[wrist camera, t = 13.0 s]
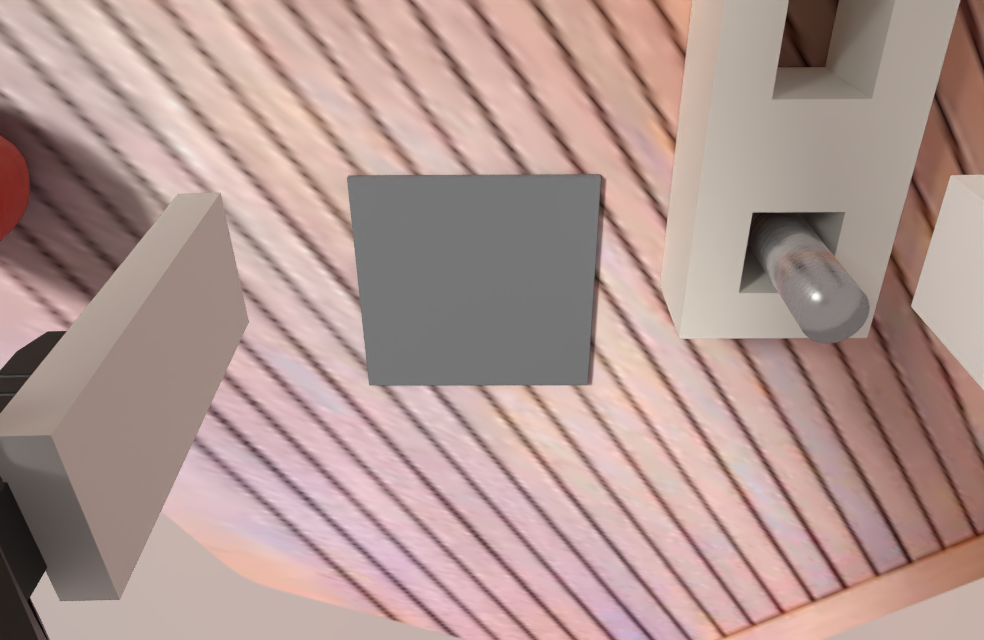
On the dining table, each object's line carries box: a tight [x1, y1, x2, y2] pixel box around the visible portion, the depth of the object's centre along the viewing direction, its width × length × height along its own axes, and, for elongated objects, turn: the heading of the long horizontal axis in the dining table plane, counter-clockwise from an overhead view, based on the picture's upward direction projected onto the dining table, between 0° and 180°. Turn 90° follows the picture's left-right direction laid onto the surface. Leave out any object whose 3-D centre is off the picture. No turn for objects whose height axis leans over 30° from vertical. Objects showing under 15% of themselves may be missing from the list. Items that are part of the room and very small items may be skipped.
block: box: [660, 0, 960, 339], centre depth 40 cm, size 20×10×6 cm, turn 0°
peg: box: [747, 212, 870, 343], centre depth 40 cm, size 3×3×12 cm
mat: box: [347, 174, 601, 385], centre depth 48 cm, size 14×14×1 cm
